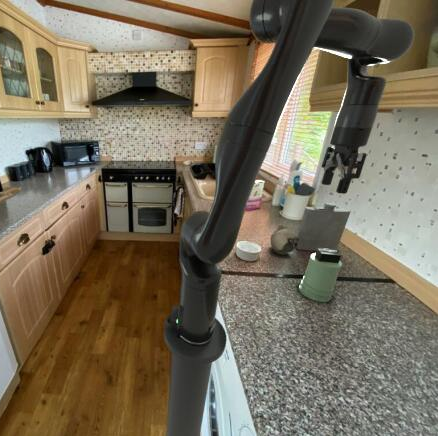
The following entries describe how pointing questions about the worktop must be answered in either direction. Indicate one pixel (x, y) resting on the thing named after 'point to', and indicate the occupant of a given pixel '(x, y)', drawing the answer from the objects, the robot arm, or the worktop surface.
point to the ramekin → (248, 250)
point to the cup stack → (319, 279)
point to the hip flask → (322, 227)
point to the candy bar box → (256, 195)
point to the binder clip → (327, 255)
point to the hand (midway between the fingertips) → (332, 188)
